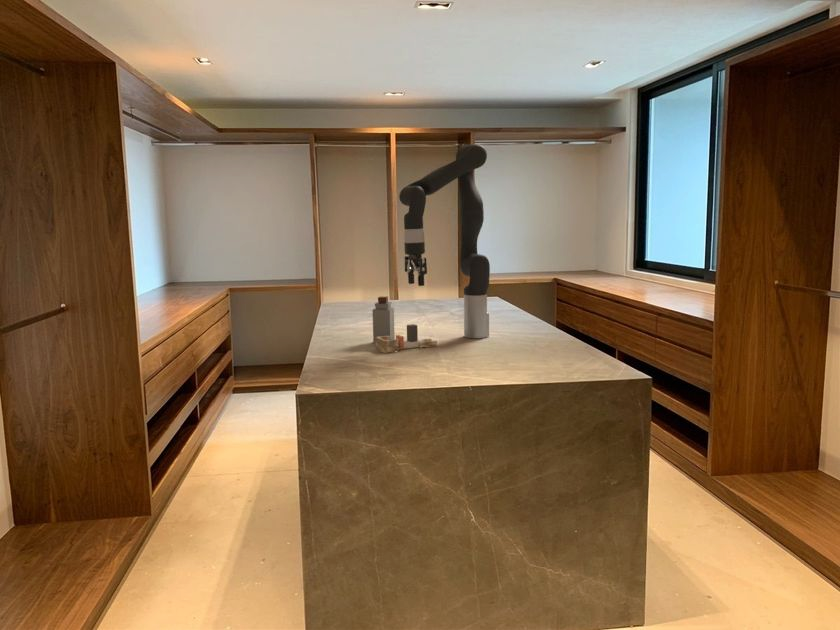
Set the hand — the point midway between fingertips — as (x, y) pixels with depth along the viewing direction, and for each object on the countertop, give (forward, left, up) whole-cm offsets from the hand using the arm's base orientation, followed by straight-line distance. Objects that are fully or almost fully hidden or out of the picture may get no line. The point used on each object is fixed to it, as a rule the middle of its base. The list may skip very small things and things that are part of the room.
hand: (416, 284), depth 241 cm
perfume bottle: (+9, -11, -23) cm, 27 cm away
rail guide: (-2, +2, -23) cm, 23 cm away
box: (+13, +2, -23) cm, 27 cm away
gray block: (+3, +2, -23) cm, 23 cm away
